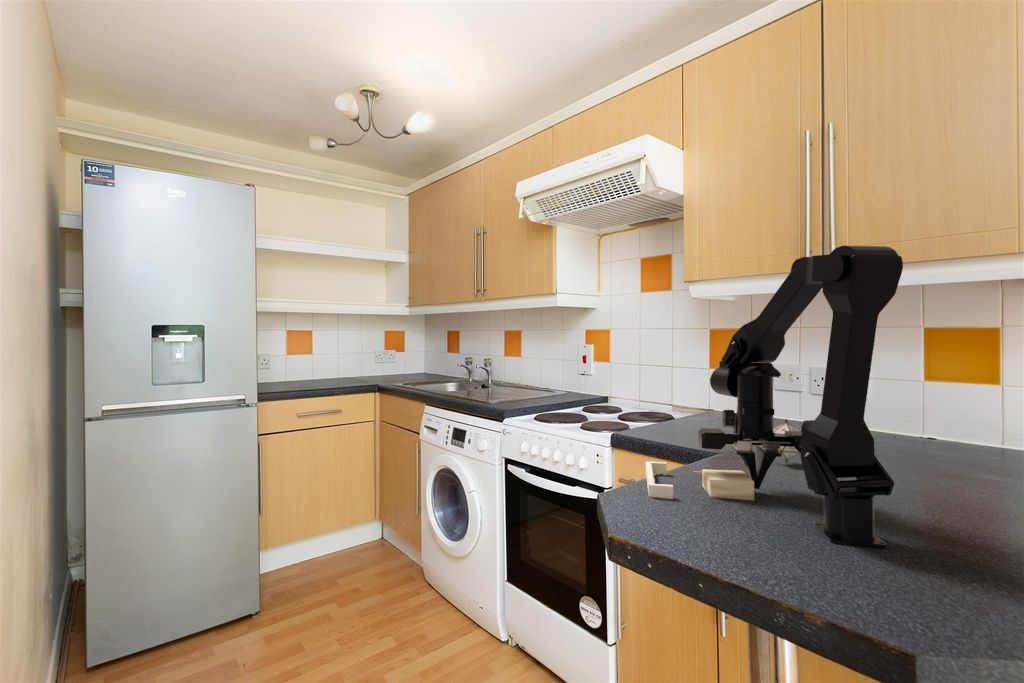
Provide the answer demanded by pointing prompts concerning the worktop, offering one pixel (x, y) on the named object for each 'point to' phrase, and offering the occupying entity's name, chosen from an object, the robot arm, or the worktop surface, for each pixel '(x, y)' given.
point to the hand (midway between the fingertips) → (756, 488)
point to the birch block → (728, 484)
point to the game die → (780, 430)
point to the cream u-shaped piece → (653, 488)
